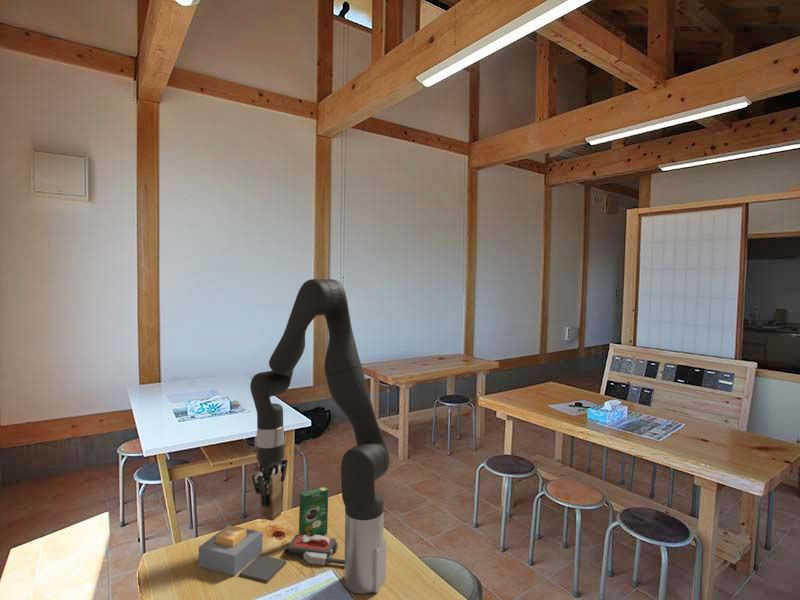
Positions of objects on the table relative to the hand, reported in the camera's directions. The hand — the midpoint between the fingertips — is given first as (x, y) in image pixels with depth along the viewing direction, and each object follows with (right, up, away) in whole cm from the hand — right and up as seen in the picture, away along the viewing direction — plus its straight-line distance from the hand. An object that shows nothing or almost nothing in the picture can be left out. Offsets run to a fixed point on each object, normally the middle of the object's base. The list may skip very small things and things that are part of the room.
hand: (270, 502), depth 123 cm
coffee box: (+12, -11, +2) cm, 16 cm away
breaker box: (-8, -10, -9) cm, 16 cm away
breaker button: (-8, -8, -9) cm, 14 cm away
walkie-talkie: (+16, -11, -7) cm, 21 cm away
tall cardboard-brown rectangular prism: (0, -4, 0) cm, 4 cm away
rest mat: (+2, -11, -13) cm, 17 cm away
